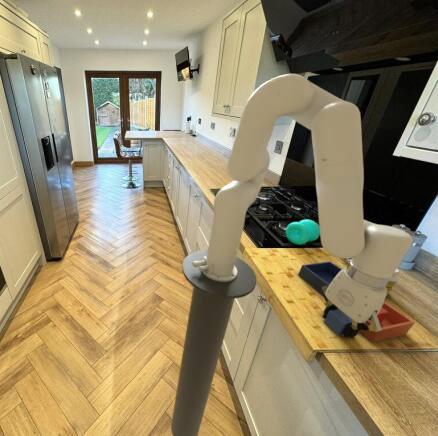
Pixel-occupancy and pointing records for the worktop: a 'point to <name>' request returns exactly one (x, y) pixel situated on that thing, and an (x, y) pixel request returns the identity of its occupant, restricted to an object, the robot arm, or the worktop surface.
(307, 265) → the navy bin
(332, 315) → the slate block
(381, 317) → the brick block
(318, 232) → the donuts
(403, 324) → the terracotta bin
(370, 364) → the worktop surface
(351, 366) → the worktop surface
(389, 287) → the supplement bottle
